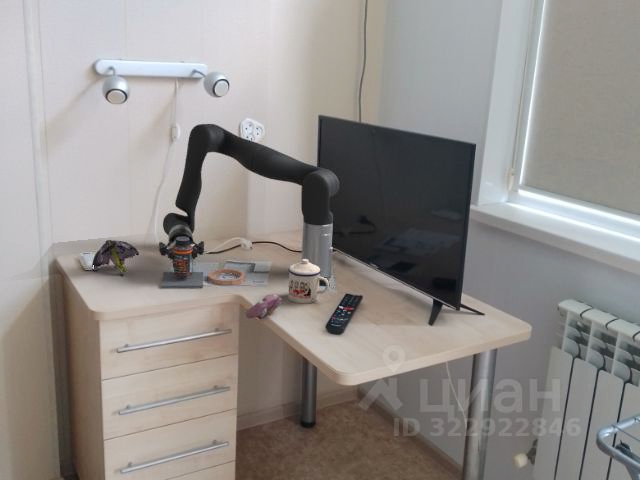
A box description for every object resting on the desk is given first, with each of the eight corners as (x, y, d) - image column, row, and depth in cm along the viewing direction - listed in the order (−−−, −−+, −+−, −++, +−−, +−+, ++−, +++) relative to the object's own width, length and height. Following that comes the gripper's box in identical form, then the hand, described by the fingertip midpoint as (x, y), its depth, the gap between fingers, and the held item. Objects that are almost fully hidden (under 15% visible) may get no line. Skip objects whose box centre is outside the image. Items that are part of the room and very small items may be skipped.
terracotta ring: (243, 272, 215) (243, 268, 215) (245, 285, 205) (245, 280, 204) (208, 272, 213) (208, 268, 213) (207, 285, 203) (207, 280, 202)
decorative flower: (129, 232, 217) (132, 232, 203) (142, 267, 218) (146, 268, 204) (83, 248, 212) (83, 248, 198) (96, 283, 214) (97, 286, 199)
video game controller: (254, 326, 180) (264, 307, 176) (242, 315, 181) (252, 296, 178) (278, 315, 187) (287, 297, 184) (266, 305, 189) (276, 286, 186)
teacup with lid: (282, 300, 194) (284, 261, 191) (294, 290, 202) (296, 253, 199) (322, 308, 190) (324, 268, 187) (332, 297, 198) (335, 259, 195)
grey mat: (203, 274, 212) (203, 271, 211) (202, 288, 200) (202, 285, 200) (163, 274, 210) (163, 271, 210) (160, 288, 198) (160, 285, 198)
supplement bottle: (171, 277, 202) (170, 241, 198) (174, 270, 207) (173, 235, 204) (191, 278, 202) (191, 241, 199) (194, 271, 208) (193, 235, 204)
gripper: (157, 228, 213) (157, 244, 198) (203, 227, 216) (207, 243, 201) (157, 251, 215) (158, 269, 200) (203, 250, 219) (207, 267, 203)
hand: (182, 256), depth 200 cm, fingers closed on supplement bottle, 6 cm apart
